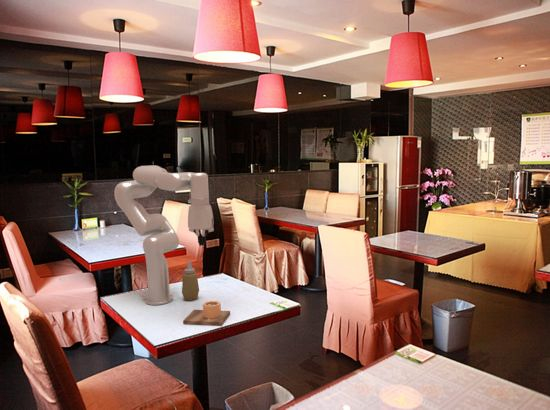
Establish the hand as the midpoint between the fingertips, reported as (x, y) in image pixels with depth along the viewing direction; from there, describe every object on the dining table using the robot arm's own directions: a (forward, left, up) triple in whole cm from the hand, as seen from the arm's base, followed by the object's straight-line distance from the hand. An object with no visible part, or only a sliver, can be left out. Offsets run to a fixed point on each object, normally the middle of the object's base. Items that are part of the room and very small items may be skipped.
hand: (202, 244), depth 176 cm
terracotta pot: (+6, -9, -28) cm, 30 cm away
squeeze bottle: (-12, +14, -29) cm, 35 cm away
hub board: (+4, -9, -29) cm, 31 cm away
